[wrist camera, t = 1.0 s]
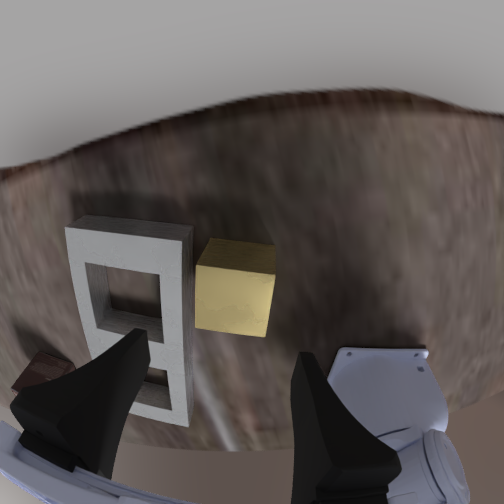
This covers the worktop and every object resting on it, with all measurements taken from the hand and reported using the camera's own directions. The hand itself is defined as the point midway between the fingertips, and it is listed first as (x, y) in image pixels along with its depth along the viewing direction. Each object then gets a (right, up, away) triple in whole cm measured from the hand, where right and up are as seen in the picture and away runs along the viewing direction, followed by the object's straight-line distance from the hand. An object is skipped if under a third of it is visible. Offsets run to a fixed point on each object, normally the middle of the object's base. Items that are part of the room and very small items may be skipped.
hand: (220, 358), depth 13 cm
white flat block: (-8, -2, +11) cm, 14 cm away
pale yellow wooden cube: (+1, +4, +9) cm, 9 cm away
